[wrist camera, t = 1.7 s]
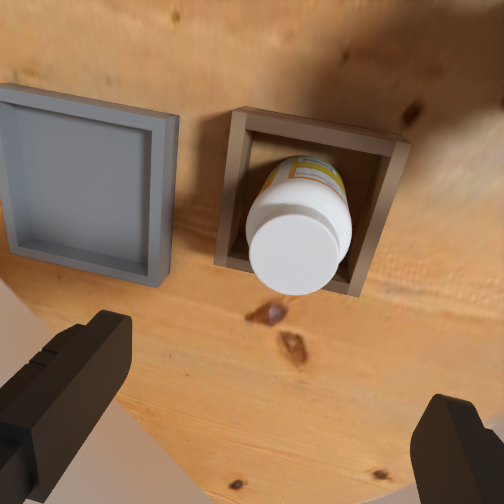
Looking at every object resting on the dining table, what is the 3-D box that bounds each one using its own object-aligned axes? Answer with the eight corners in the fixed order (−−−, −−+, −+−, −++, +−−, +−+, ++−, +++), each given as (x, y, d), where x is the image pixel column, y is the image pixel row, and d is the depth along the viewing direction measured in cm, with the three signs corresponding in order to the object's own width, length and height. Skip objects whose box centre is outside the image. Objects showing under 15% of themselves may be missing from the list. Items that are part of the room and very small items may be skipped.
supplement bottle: (281, 241, 26) (260, 321, 18) (252, 171, 24) (212, 222, 16) (355, 217, 25) (372, 293, 16) (330, 140, 23) (333, 179, 14)
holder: (245, 106, 23) (232, 110, 20) (399, 135, 22) (412, 144, 19) (226, 242, 27) (213, 264, 24) (354, 271, 26) (359, 297, 23)
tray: (11, 83, 25) (-19, 83, 23) (179, 115, 24) (165, 119, 22) (32, 240, 30) (9, 253, 28) (169, 272, 29) (157, 288, 27)
